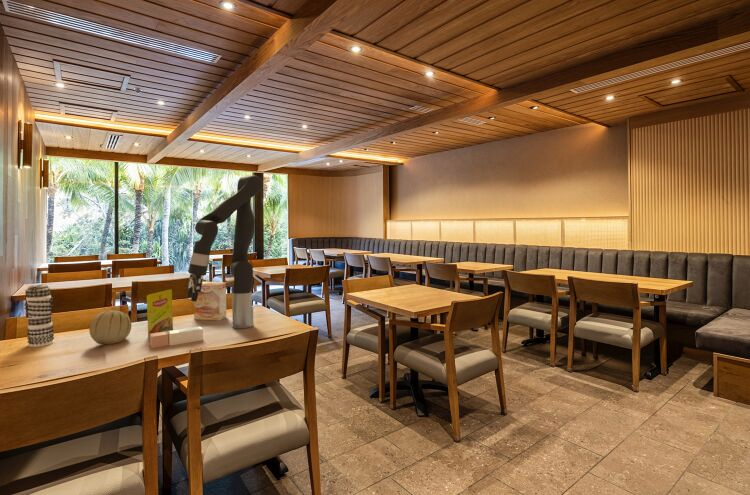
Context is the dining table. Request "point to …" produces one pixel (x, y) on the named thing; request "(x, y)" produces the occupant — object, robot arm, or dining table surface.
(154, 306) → the food package
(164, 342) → the stub
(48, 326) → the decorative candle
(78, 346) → the dining table surface
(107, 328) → the cantaloupe
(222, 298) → the coffeecake box
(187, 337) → the white rectangular block
